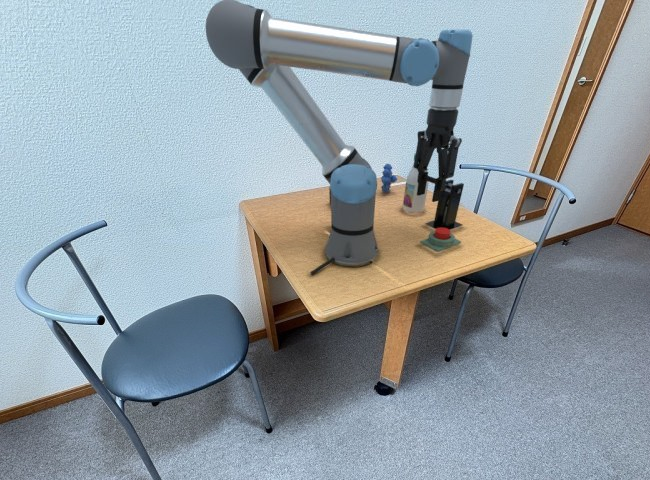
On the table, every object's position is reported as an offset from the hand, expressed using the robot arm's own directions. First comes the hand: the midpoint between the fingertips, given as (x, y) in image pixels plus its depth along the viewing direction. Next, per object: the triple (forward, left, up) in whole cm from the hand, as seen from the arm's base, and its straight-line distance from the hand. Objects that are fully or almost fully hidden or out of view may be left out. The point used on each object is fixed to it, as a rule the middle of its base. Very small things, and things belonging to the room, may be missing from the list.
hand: (428, 197), depth 97 cm
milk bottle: (+11, +16, -12) cm, 23 cm away
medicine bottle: (-8, +35, -13) cm, 38 cm away
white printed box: (+12, +7, -7) cm, 16 cm away
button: (-1, -8, -9) cm, 13 cm away
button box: (-1, -8, -12) cm, 15 cm away
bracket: (+10, 0, -12) cm, 16 cm away
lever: (+5, 0, +2) cm, 5 cm away
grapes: (+16, +36, -13) cm, 41 cm away
